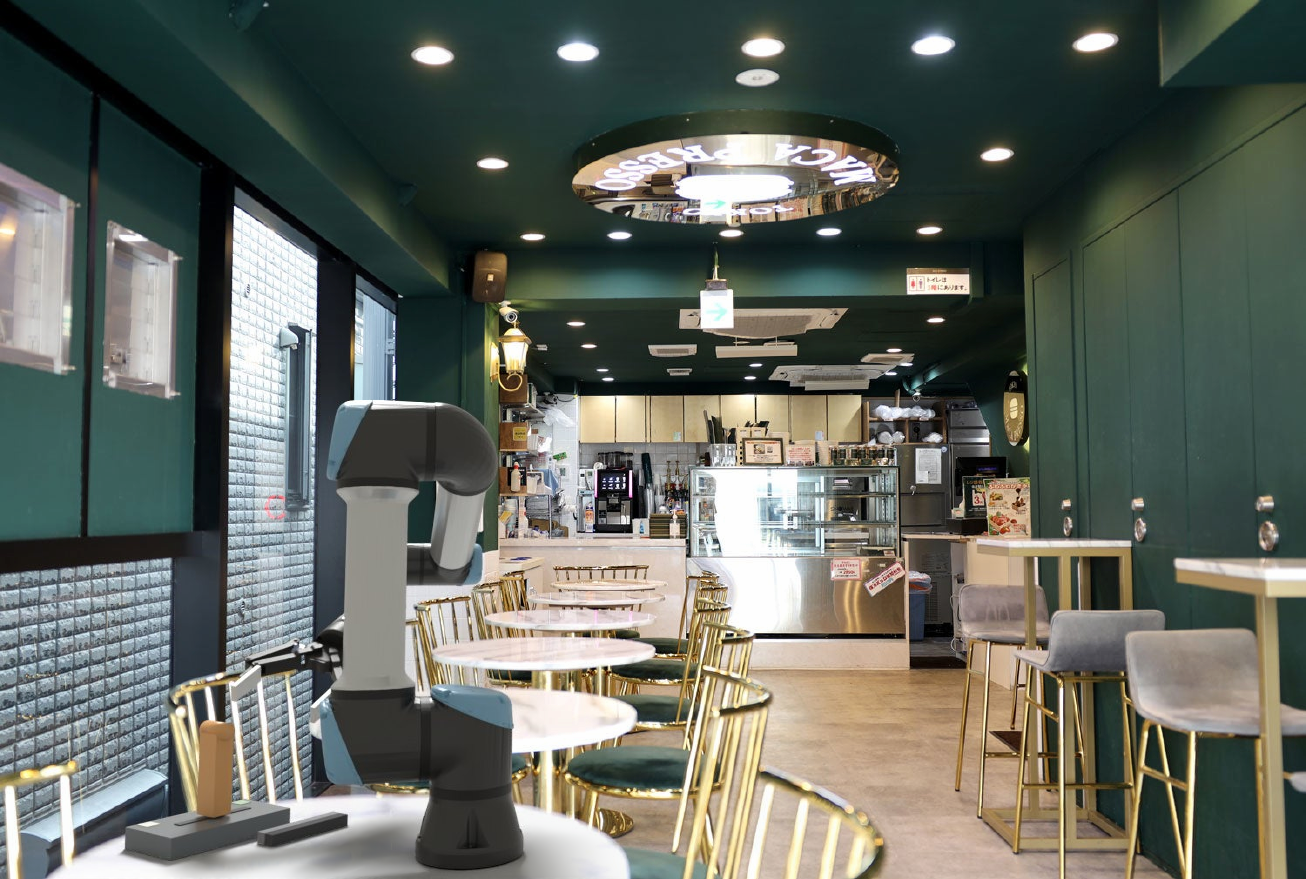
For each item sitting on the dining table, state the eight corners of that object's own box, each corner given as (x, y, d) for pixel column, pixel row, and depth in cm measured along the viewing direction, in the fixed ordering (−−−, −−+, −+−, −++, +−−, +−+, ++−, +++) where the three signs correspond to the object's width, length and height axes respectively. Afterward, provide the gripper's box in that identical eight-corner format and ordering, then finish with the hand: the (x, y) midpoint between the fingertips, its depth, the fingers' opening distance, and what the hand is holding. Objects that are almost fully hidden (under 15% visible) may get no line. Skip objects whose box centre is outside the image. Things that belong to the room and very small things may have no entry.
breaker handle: (233, 813, 158) (236, 721, 160) (215, 818, 156) (219, 724, 157) (212, 809, 161) (215, 718, 162) (194, 813, 158) (198, 721, 160)
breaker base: (289, 827, 163) (290, 806, 163) (170, 860, 146) (171, 836, 146) (244, 818, 169) (244, 797, 169) (124, 848, 152) (125, 825, 152)
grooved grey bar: (347, 824, 165) (347, 814, 165) (272, 846, 153) (272, 835, 153) (332, 821, 167) (333, 811, 167) (257, 842, 155) (257, 831, 155)
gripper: (411, 676, 179) (345, 745, 159) (281, 642, 184) (201, 705, 164) (413, 637, 176) (346, 702, 157) (281, 604, 181) (200, 663, 162)
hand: (272, 704), depth 160 cm, fingers open, 13 cm apart
